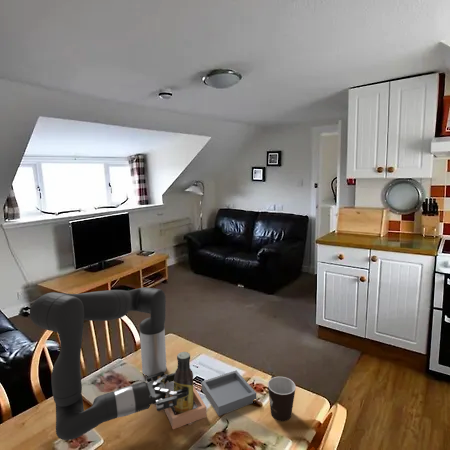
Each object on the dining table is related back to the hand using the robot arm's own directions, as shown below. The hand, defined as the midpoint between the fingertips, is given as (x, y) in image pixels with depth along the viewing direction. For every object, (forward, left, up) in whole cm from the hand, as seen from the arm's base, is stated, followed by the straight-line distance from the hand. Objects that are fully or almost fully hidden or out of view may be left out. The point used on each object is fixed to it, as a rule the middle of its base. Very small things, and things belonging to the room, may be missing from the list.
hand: (183, 382), depth 103 cm
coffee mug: (+14, +28, -10) cm, 33 cm away
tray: (0, +16, -10) cm, 19 cm away
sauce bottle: (0, 0, -10) cm, 10 cm away
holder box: (0, 0, -10) cm, 10 cm away
